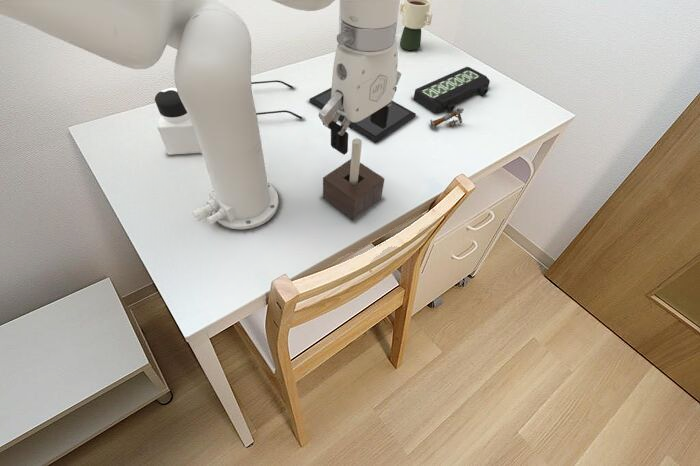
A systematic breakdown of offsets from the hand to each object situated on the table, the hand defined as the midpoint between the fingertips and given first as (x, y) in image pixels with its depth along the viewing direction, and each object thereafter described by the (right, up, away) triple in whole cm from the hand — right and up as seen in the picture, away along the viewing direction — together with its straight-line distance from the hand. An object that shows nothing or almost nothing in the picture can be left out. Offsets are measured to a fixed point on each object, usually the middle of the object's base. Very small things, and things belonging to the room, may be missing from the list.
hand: (359, 136), depth 64 cm
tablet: (+1, +15, +31) cm, 34 cm away
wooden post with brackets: (+21, +10, +29) cm, 37 cm away
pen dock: (-1, -9, +12) cm, 15 cm away
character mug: (+17, +40, +52) cm, 68 cm away
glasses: (-23, +15, +29) cm, 40 cm away
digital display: (+26, +20, +37) cm, 50 cm away
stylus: (-1, -9, +12) cm, 15 cm away
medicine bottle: (-37, +3, +19) cm, 42 cm away
